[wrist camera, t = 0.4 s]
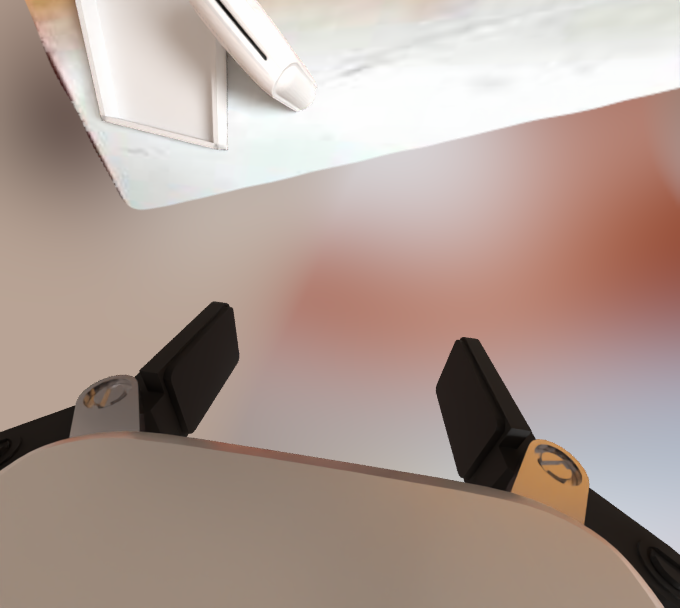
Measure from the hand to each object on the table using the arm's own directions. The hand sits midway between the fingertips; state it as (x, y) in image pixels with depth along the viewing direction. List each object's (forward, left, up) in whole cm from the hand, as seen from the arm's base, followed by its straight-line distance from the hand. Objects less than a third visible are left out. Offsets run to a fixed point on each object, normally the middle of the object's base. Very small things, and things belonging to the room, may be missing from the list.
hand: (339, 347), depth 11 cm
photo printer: (-13, -13, -31) cm, 36 cm away
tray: (-11, -27, -30) cm, 42 cm away
